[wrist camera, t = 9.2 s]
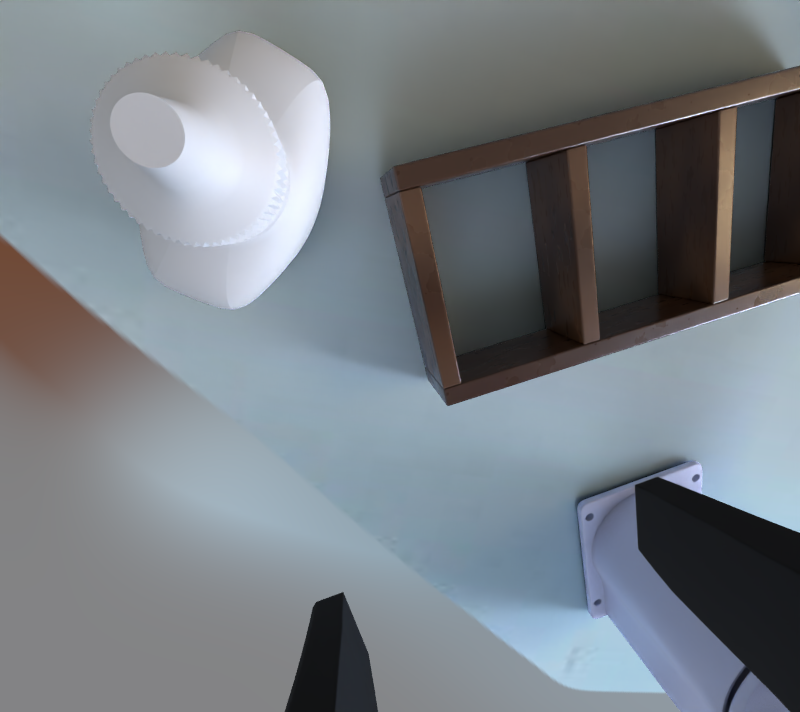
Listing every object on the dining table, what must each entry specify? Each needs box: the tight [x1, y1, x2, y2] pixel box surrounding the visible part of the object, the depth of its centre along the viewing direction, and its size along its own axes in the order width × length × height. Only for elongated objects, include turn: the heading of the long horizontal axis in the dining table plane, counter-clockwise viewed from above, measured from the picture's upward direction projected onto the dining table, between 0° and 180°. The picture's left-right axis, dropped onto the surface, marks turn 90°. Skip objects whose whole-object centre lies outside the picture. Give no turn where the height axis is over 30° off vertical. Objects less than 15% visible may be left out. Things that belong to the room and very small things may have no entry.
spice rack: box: [380, 66, 800, 406], centre depth 17 cm, size 9×19×3 cm, turn 104°
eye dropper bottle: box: [89, 30, 330, 310], centre depth 10 cm, size 4×6×12 cm
